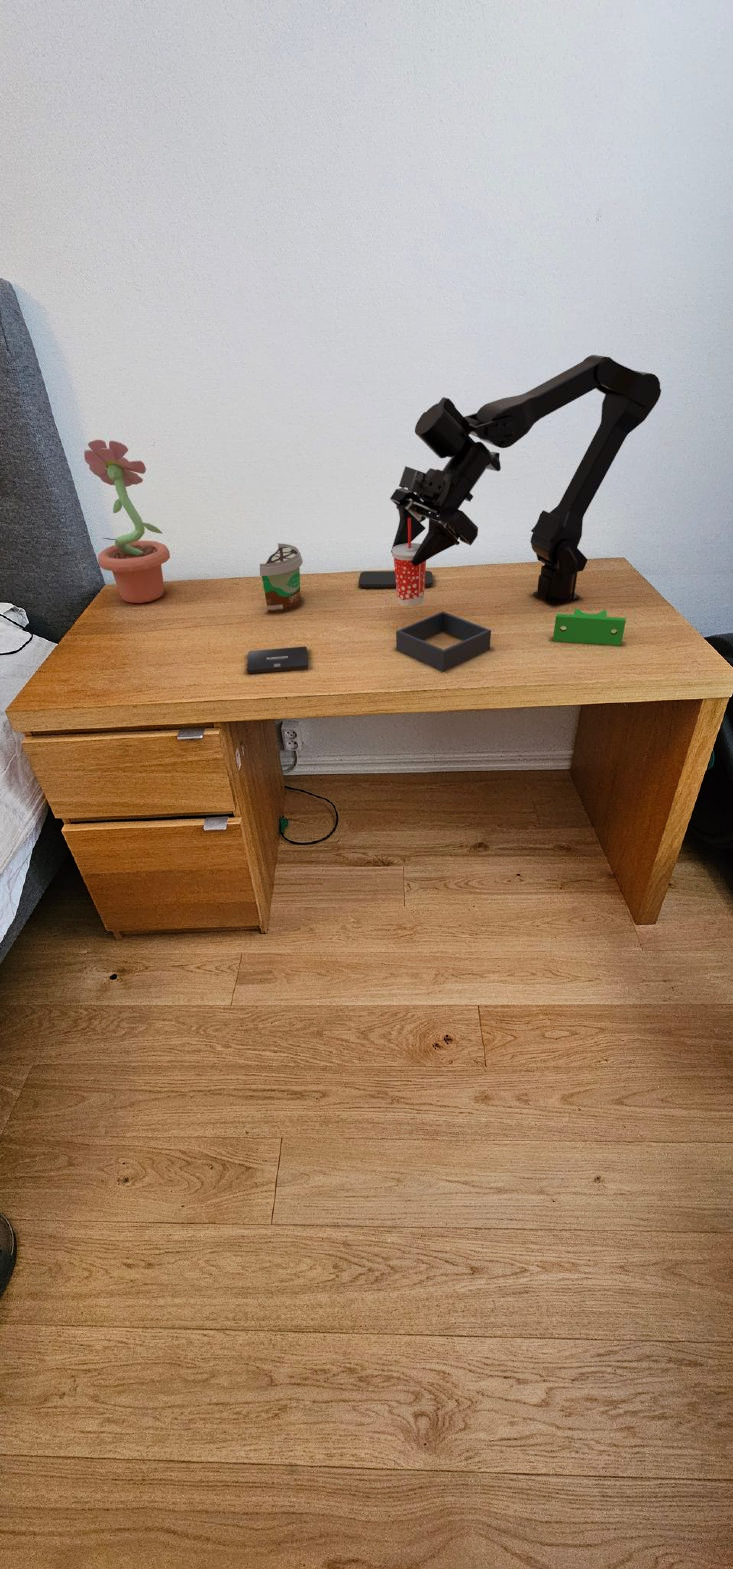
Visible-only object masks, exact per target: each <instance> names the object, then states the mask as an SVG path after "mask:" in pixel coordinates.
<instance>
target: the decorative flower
mask: <svg viewBox="0 0 733 1569" xmlns="http://www.w3.org/2000/svg"><path fill="white" fill-rule="evenodd" d="M87 446H88V448H89V449H85V450H84V452H83V455H84V456H83V457H84V458H83V459H84V461H85V463H86V464H88V466H89V468H88V469H89V470H90V471H91V473H93V475H95V476H96V477H98V478H99V479H100V480H101V482H103V483H105V484H106V485H109V486H114V488H115V491H116V493H117V494H116V495H117V496H118V498H117V499H115V501H114V503H113V507H112V514H117V513H119V512H120V511H121V510H122V508H124V510H125V512H126V514H127V516H128V517H129V519H130V520H131V522H132V523H133V525H134V530H133V531H132V532H130V533H126V534H123V535H119V536H117V537H116V538H110V537H109V538H108V537H103V540H109V541H114V544H113V545H110V546H108V547H106V548H104V549H103V550H102V551H101V552H100V553H98V556H97V563H98V566H99V567H100V568H101V569H102V570H105V571H110V572H112V575H113V578H114V581H115V585H116V587H117V590H118V593H119V595H120V597H121V599H122V600H124V602H127V603H131V604H133V603H134V604H143V603H149V602H153V601H157V600H158V599H160V598H161V597H162V596H163V595H164V593H165V592H164V591H165V584H164V575H163V568H162V565H163V564H165V563H167V562H168V561H169V560H170V558H171V553H170V550H169V548H168V546H167V545H165V544H164V543H162V542H158V541H153V540H141V539H142V538H143V536H144V534H145V533H146V532H145V529H147V530H148V531H149V532H153V533H155V534H160V535H161V534H163V531H161V530H160V529H159V528H158V527H157V526H155V525H153V524H151V523H149V522H148V523H147V522H143V518H142V517H141V515H140V514H139V512H138V511H137V510H136V508H135V506H134V504H133V502H132V501H131V498H130V496H129V494H128V491H127V487H131V486H132V485H136V486H137V485H139V484H141V483H143V481H144V478H142V477H141V476H140V475H139V474H141V475H144V474H145V473H146V472H147V468H146V465H145V463H144V462H143V461H142V460H131V461H130V460H128V459H127V458H126V457H124V456H125V455H126V454H127V453H128V451H129V448H128V446H126V445H125V444H124V443H122V442H119V441H117V440H109V442H108V445H107V443H106V441H105V440H103V439H93V440H91V441H89V442H88V443H87ZM107 446H108V447H107Z"/></svg>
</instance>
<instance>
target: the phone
mask: <svg viewBox="0 0 733 1569" xmlns="http://www.w3.org/2000/svg"><path fill="white" fill-rule="evenodd" d="M432 586H433V572H432V571H430V570H426V572H425V588H429V587H432ZM358 587H359V588H363V589H365V588H367V589H369V588H370V589H371V588H373V589H374V588H397V587H396V577H395V570H381V571H379V570H376V571H375V570H374V571H373V570H372V571H369V570H368V571H361V572H360V574H359V578H358Z"/></svg>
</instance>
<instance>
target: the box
mask: <svg viewBox="0 0 733 1569" xmlns="http://www.w3.org/2000/svg"><path fill="white" fill-rule="evenodd" d="M442 632H443V633H445V634H447V635H449V636H452V637H454V638H456V639H459V640H462V641H459V642H458V643H456V644H454V645H450V646H449V647H446V648H444V649H443V648H441V647H438V646H437V645H434V644H431V643H429V642H428V641H425V640H426V639H430V638H431V637H433V636H435V635H438V634H440V633H442ZM395 633H396V634H395V642H396V643H395V644H396V646H395V647H396V651H398V652H400V653H402V654H404V655H407V656H409V657H411V658H413V659H415V660H418V661H420V662H422V663H424V664H426V665H428V666H431V667H433V668H435V669H437V670H439V671H441V672H446V671H447V670H450V669H452V668H454V667H456V666H458V665H460V664H462V663H464V662H466V661H468V660H471V659H473V658H474V657H476V656H479V655H481V654H483V653H485V652H487V651H489V650H491V638H492V630H491V629H489V628H487V627H484V626H482V625H478V624H476V623H474V622H471V621H469V620H466V619H464V618H461V617H458V616H456V615H453V614H451V613H448V612H446V611H440V612H438V613H436V614H432V615H431V616H428V617H426V618H424V619H421V620H419V621H416V622H413V623H411V624H409V625H407V626H405V627H401V628H400V629H397V630H396V631H395Z"/></svg>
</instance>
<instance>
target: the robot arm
mask: <svg viewBox="0 0 733 1569" xmlns="http://www.w3.org/2000/svg"><path fill="white" fill-rule="evenodd" d="M594 390H597V391H598V392H600V393H602V394H604V397H603V400H602V403H601V417H600V423H599V426H598V428H597V430H596V432H595V434H594V436H593V437H592V440H591V441H590V443H589V445H588V447H587V449H586V450H585V453H584V455H583V457H582V459H581V460H580V463H579V465H578V466H577V468H576V470H575V472H574V474H573V476H572V478H571V480H570V482H569V484H568V485H567V488H566V489H565V492H564V493H563V495H562V497H561V499H560V501H559V503H558V504H557V506H556V507H554V508H553V509H552V510H550V511H549V512H548V511H546V510H542V511H541V512H540V514H539V516H538V519H537V521H536V524H535V525H534V527H532V529H531V530H530V532H531V533H532V535H531V536H530V541H529V542H530V545H531V549H532V551H533V552H534V553H535V555H536V559H537V561H538V562H541V563H543V564H544V565H541V567H540V574H539V575H538V583H537V588H536V589H537V590H536V591H534V592H532V596H533V597H535V598H537V599H539V600H542V601H543V602H545V603H547V604H549V605H551V606H558V605H562V604H567V603H569V602H573V601H577V600H580V598H581V595H579V594H577V593H575V592H576V587H577V586H576V585H577V580H578V579H577V578H578V573H579V572H583V571H584V570H585V567H586V566H587V563H588V561H589V560H588V558H587V557H586V556H585V555H584V553H582V551H581V550H580V549H579V548H578V547H579V545H580V542H581V539H582V536H583V525H584V524H583V523H584V517H585V515H586V513H587V511H588V509H589V507H590V505H591V503H592V501H593V500H594V498H595V496H596V494H597V492H598V490H599V489H600V486H601V484H602V483H603V481H604V479H605V477H606V476H607V474H608V473H609V472H608V471H609V470H610V468H611V466H612V464H613V462H614V461H615V459H616V457H617V455H618V453H619V451H620V449H621V448H622V446H623V444H624V442H625V440H626V438H627V437H628V436H629V434H630V433H632V432H633V431H634V430H635V429H636V428H637V427H638V426H640V425H642V423H643V422H644V421H645V420H646V419H647V418H648V417H649V415H650V413H651V412H652V411H653V410H654V408H655V406H656V405H657V403H658V401H659V400H660V397H661V394H662V389H661V382H660V380H659V377H658V376H657V375H656V374H654V373H651V372H646V371H639V370H634V369H631V368H629V367H627V366H625V365H623V364H621V363H619V362H617V361H615V360H614V359H613V358H611V357H610V356H604V355H597V354H591V355H589V356H587V357H585V358H584V359H583V360H582V361H581V362H579V363H577V364H576V365H574V366H572V367H570V368H568V369H567V370H565V371H562V372H561V373H559V374H558V375H555V376H553V377H552V378H550V379H548V380H546V381H544V382H542V383H541V384H539V385H537V386H536V387H534V388H532V389H529V390H527V392H524V393H522V394H519V395H514V396H508V397H502V398H499V399H497V400H494V401H489V402H487V403H485V404H483V405H482V406H481V407H480V408H479V409H478V410H477V411H476V412H475V413H472V414H468V415H465V416H464V415H463V414H462V413H461V412H460V411H459V410H458V409H457V407H456V405H455V404H454V402H453V401H452V400H451V399H450V398H448V397H445V396H443V397H441V399H440V400H439V402H437V403H435V404H434V405H432V406H431V407H429V408H428V409H427V410H426V411H424V412H423V413H422V414H421V415H420V416H419V418H418V420H417V422H416V424H415V426H414V433H415V435H416V436H417V437H418V438H419V439H420V440H421V441H422V442H423V443H424V444H425V445H426V446H427V447H428V449H429V450H431V451H432V452H433V453H434V454H435V455H436V456H437V457H438V458H439V459H446V458H449V460H448V461H447V463H446V464H445V466H444V467H443V469H442V470H441V469H438V468H436V469H434V468H431V467H430V468H429V469H428V470H427V471H426V472H423V471H420V470H417V469H415V468H412V467H409V466H406V465H405V466H404V468H403V472H402V474H401V478H400V481H399V484H398V488H396V489H394V492H393V493H392V495H391V496H390V497H389V500H390V501H391V502H392V503H393V504H394V505H395V506H396V507H395V508H396V510H397V511H398V515H399V516H398V517H399V520H398V526H397V530H396V533H395V535H394V539H393V544H392V546H391V550H390V553H391V554H392V548H393V547H395V546H397V545H400V544H405V543H408V518H411V543H413V541H414V540H415V539H416V538H417V537H418V536H419V535H421V533H423V532H424V531H425V530H426V526H424V525H423V524H422V522H424V521H426V519H428V527H427V528H428V531H427V533H426V535H425V537H424V539H422V542H421V543H420V544H421V545H420V547H419V548H418V550H417V552H416V553H415V555H414V557H413V559H412V561H411V563H412V564H413V565H414V566H417V565H419V564H421V563H423V562H424V561H426V562H427V561H428V560H429V559H431V558H432V557H434V556H436V555H438V554H440V553H441V552H443V551H445V550H446V551H447V549H450V548H451V547H454V546H459V545H460V543H461V542H462V543H464V544H466V545H469V546H472V544H473V543H474V542H475V541H476V539H477V538H478V536H479V527H478V526H477V525H476V523H475V522H474V521H473V520H472V519H471V518H469V516H468V515H467V514H466V513H465V512H464V511H463V510H461V509H460V508H461V506H462V505H463V504H464V502H465V501H467V502H469V503H471V502H472V500H473V498H474V495H473V494H472V493H471V492H472V491H473V489H474V487H475V486H476V485H477V483H478V481H479V480H480V479H481V477H482V476H483V474H484V473H485V471H486V470H490V471H494V472H500V471H501V469H502V466H501V461H500V454H501V453H499V452H496V451H491V450H490V449H489V448H488V447H487V446H486V444H490V445H492V446H494V447H496V448H500V449H508V448H509V447H511V446H514V444H516V443H517V442H518V441H520V440H521V439H522V438H524V437H525V436H526V435H527V434H528V433H529V432H530V431H531V429H532V427H533V426H534V425H536V423H537V422H539V421H540V420H541V419H543V418H545V417H546V416H548V415H550V414H552V413H554V412H556V411H557V410H559V409H561V408H563V407H565V406H566V405H568V404H570V403H572V402H575V401H576V400H577V399H579V398H581V397H583V396H584V395H586V394H588V393H590V392H592V391H594ZM470 435H471V436H473V437H476V438H478V439H479V440H480V441H475V440H474V439H473V438H472V437H471V436H470ZM483 442H484V443H486V444H484V443H483ZM399 487H400V488H399Z"/></svg>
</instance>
